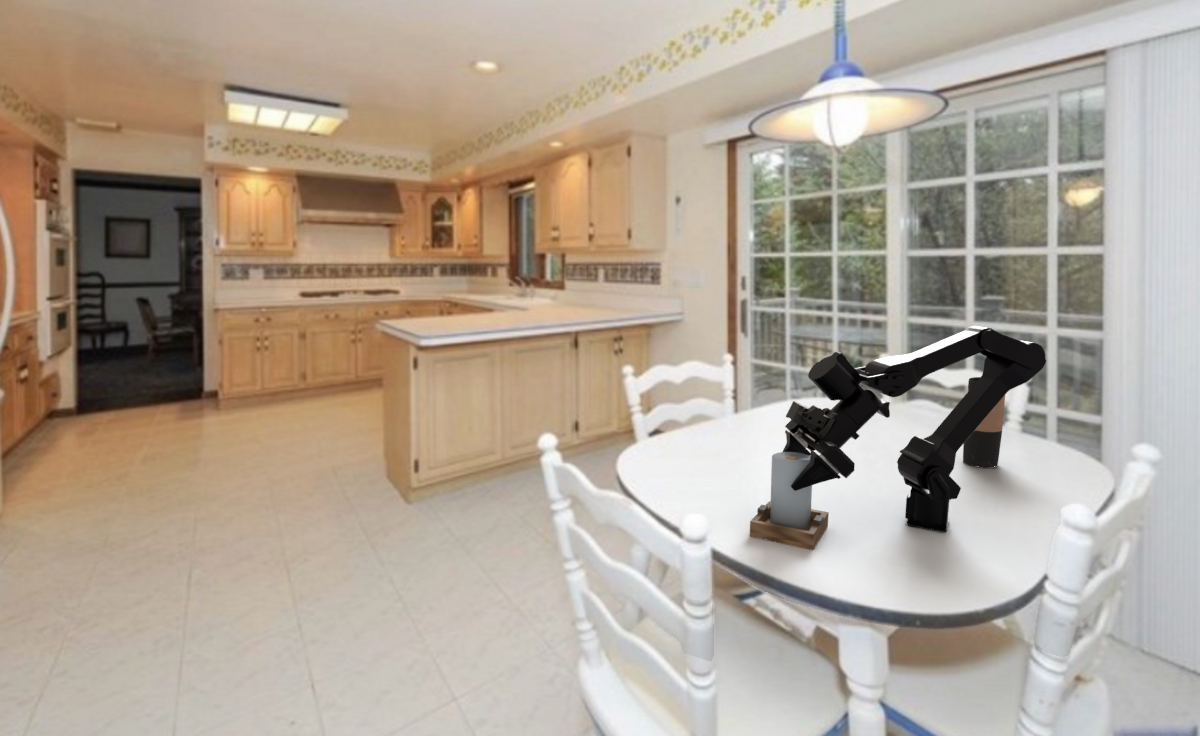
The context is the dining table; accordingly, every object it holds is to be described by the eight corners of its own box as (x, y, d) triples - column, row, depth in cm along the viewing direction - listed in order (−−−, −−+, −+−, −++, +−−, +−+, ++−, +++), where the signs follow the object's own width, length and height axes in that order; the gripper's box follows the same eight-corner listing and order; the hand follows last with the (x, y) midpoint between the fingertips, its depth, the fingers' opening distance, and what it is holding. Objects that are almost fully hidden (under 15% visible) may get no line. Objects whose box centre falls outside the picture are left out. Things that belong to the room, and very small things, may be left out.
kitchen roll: (806, 519, 120) (809, 451, 118) (813, 535, 113) (816, 463, 111) (767, 518, 121) (769, 450, 118) (772, 534, 114) (774, 462, 112)
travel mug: (956, 457, 157) (962, 376, 153) (990, 458, 156) (997, 377, 152) (969, 468, 149) (976, 383, 146) (1005, 469, 148) (1013, 383, 145)
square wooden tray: (828, 526, 119) (829, 508, 118) (813, 550, 109) (814, 530, 109) (768, 514, 124) (768, 497, 124) (749, 536, 115) (749, 517, 115)
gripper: (797, 376, 122) (738, 435, 123) (839, 398, 103) (769, 466, 105) (836, 416, 124) (778, 473, 125) (884, 444, 105) (815, 511, 106)
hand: (783, 479), depth 115 cm, fingers open, 9 cm apart
